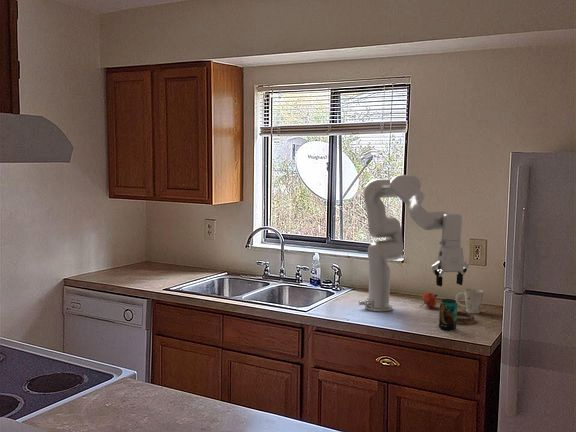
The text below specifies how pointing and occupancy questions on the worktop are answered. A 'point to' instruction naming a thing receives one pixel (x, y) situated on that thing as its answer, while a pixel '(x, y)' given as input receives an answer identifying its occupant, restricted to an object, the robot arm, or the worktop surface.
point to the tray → (465, 318)
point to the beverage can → (448, 315)
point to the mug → (471, 300)
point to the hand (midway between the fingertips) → (449, 285)
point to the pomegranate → (429, 299)
